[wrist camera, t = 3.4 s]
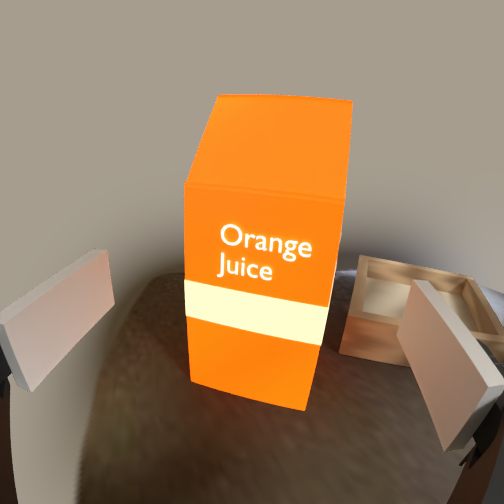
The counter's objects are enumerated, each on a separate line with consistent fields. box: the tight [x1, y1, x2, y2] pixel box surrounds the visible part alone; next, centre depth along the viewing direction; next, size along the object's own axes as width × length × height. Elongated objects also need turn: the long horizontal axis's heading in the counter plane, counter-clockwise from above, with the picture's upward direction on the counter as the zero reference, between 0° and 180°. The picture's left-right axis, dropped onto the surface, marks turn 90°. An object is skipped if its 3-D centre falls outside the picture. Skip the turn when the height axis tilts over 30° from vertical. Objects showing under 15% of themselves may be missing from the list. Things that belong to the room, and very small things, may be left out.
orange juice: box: [184, 95, 352, 411], centre depth 21 cm, size 8×9×20 cm
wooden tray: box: [339, 255, 504, 367], centre depth 30 cm, size 16×18×4 cm
